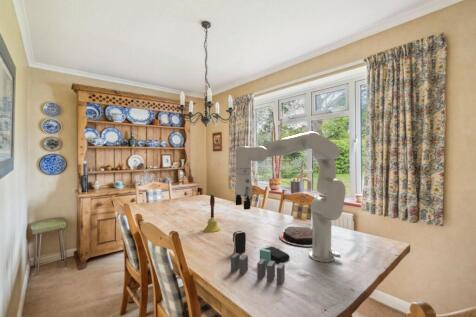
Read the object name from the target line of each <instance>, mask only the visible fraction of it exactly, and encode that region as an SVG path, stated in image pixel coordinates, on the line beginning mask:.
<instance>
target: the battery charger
mask: <svg viewBox="0 0 476 317" xmlns="http://www.w3.org/2000/svg"><path fill="white" fill-rule="evenodd" d="M246 237H247V234H246V232H245V231H243V230H238V231H234V232H233V234H232V242H233V247H234V248H233V254H235V253H239V254H241V253H244V252H246V243H247V242H246V241H247V238H246Z"/></svg>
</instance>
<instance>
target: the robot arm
mask: <svg viewBox="0 0 476 317" xmlns="http://www.w3.org/2000/svg"><path fill="white" fill-rule="evenodd" d="M306 150H311V155H312V157H313V158H314V159H315V160H316V161H317V163H318V167H319V168H318V177H317V182H316V191H317V193H319V194H320V195H322V196H326V197H322V196H318V197H315V198H314V199H312V201H311V203H310V212H311V213H310V214H311V218H312V219H311V220H312V223H311V224H312V226H311V227H312V228H311V229H312V247H311V251H309V253H308V255H309V257H310V258H311V259H312V260H314V261H317V262H322V263H331V262H333V261H334V260H335V258H341V253H339V252H338V251H334V250H333V247H332V221H336V220H337V221H338V219H340V217H341V216H342V214H343V209H344V205H345V200H346V199H345V198H346V186H345V184H344V182H343V181H342V180H341V179H338V178H336V177H337V176H336V175H337V164H336V161H335V160H337V158H338V157H339V155H340V153H341V152H340V147H339V146H338V145H337V144H336V143H335V142H333V141H332V140H330V139H328V138H327V137H325V136H323V135H322V134H320V133H318V132H315V131H307V132H302V133H298V134H295V135H292V136H291V135H290V136H287V137H282V138H279V139H277V140H274V141H270V142H266V143H263V144H259V145H254V146H245V145H242V146H237V147H236V148H235V158H234V159H235V161H234V162H235V164H234V165H235V168H234V169H235V172H234V173H235V186H234V191H235V192H234V194H235V205H236V206H242V205H243V210H245V211H246V210H251V201H252V197H253V196H252V195H253V183H252V176H251V174H252V170H251V169H252V161H253V162H264V161H266V160H267V159H268V158H272V157H281V156H287V155H291V154H294V153H297V152H301V151H306Z"/></svg>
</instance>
